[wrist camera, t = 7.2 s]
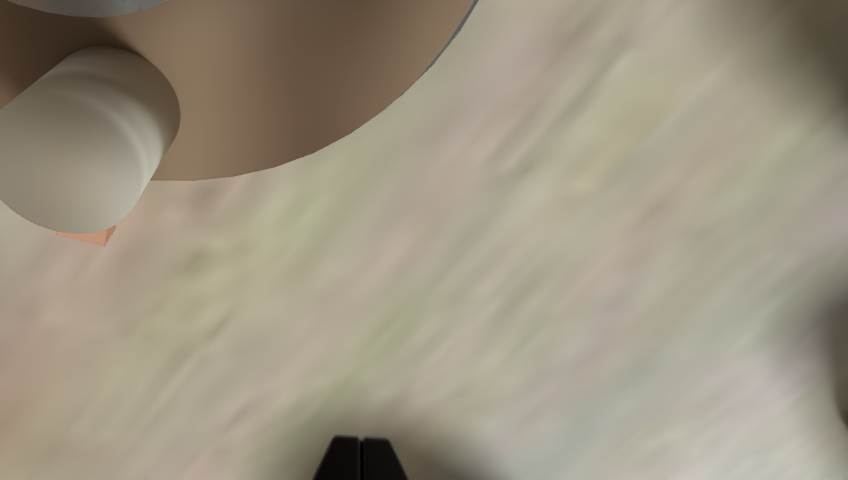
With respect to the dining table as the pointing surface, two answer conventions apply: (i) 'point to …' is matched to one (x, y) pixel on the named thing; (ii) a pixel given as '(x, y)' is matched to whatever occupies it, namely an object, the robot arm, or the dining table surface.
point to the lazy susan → (192, 93)
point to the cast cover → (89, 6)
